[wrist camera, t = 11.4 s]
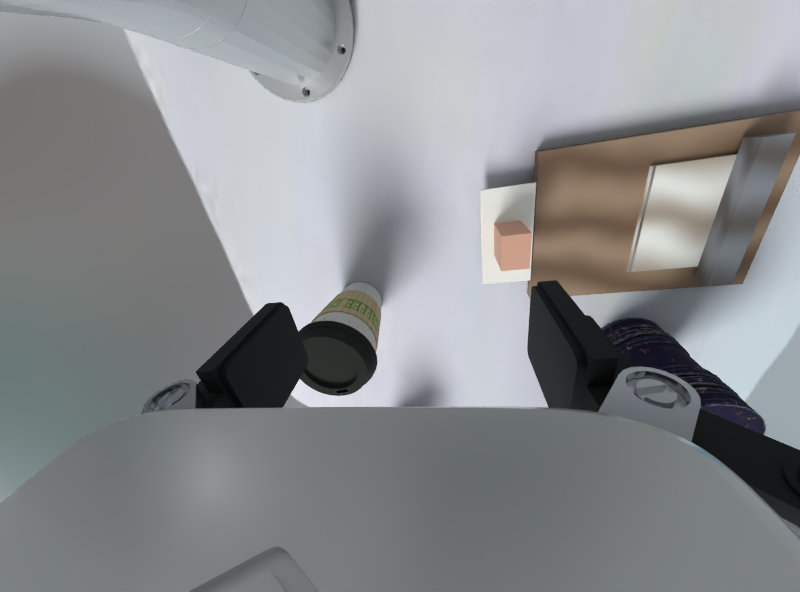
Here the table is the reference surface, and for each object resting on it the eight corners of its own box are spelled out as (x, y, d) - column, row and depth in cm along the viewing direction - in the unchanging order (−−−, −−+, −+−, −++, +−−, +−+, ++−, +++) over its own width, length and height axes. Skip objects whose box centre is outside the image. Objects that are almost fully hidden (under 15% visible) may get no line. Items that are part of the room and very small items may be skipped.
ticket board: (535, 151, 32) (546, 153, 29) (802, 109, 28) (853, 105, 24) (527, 293, 40) (535, 307, 37) (731, 278, 36) (761, 293, 33)
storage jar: (583, 328, 42) (646, 414, 29) (662, 308, 39) (772, 394, 26) (592, 376, 46) (652, 471, 33) (665, 361, 43) (762, 459, 30)
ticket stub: (479, 189, 33) (486, 198, 29) (535, 182, 32) (551, 190, 27) (482, 282, 39) (487, 303, 34) (529, 279, 38) (541, 299, 33)
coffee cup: (381, 263, 41) (353, 323, 28) (401, 319, 45) (386, 394, 32) (320, 279, 43) (269, 340, 30) (345, 331, 48) (309, 404, 35)
